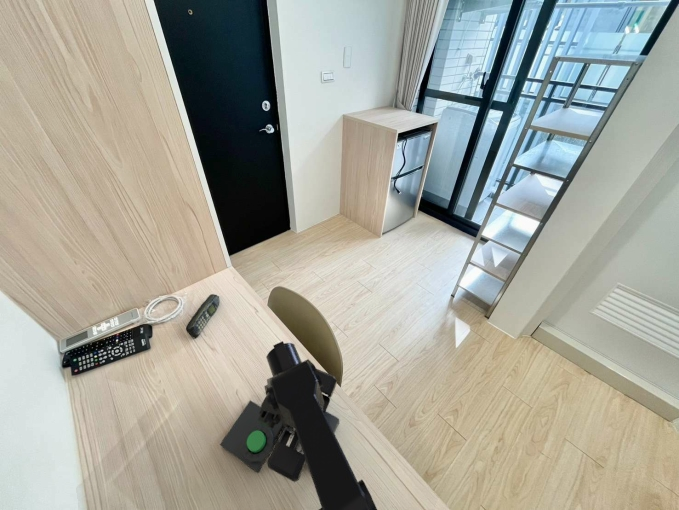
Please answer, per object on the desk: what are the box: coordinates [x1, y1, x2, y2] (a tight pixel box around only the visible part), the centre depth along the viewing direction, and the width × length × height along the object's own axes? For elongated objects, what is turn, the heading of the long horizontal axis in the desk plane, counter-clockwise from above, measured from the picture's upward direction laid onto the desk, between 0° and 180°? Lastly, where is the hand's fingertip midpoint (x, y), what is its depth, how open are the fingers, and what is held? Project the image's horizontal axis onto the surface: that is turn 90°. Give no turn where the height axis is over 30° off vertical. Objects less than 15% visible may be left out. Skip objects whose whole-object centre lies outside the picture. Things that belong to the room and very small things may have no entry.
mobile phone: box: [185, 293, 220, 339], centre depth 82 cm, size 5×3×15 cm
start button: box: [247, 431, 266, 453], centre depth 57 cm, size 4×4×2 cm
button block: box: [219, 400, 285, 474], centre depth 60 cm, size 10×11×4 cm
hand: (308, 429), depth 59 cm, fingers closed on program dial, 4 cm apart
